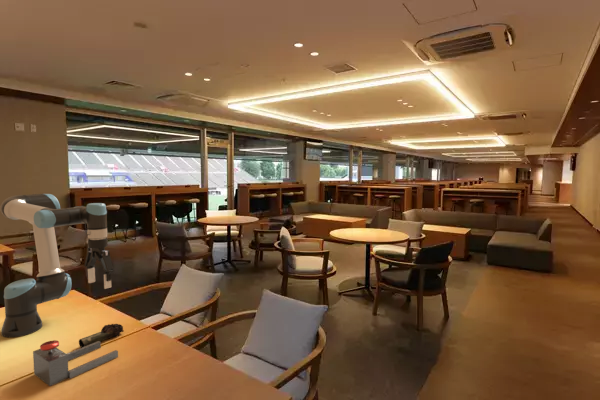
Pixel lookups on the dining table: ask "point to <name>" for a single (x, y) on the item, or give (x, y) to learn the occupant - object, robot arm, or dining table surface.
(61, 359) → the cradle
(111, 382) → the dining table surface
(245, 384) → the dining table surface
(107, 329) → the morel mushroom
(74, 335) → the dining table surface
